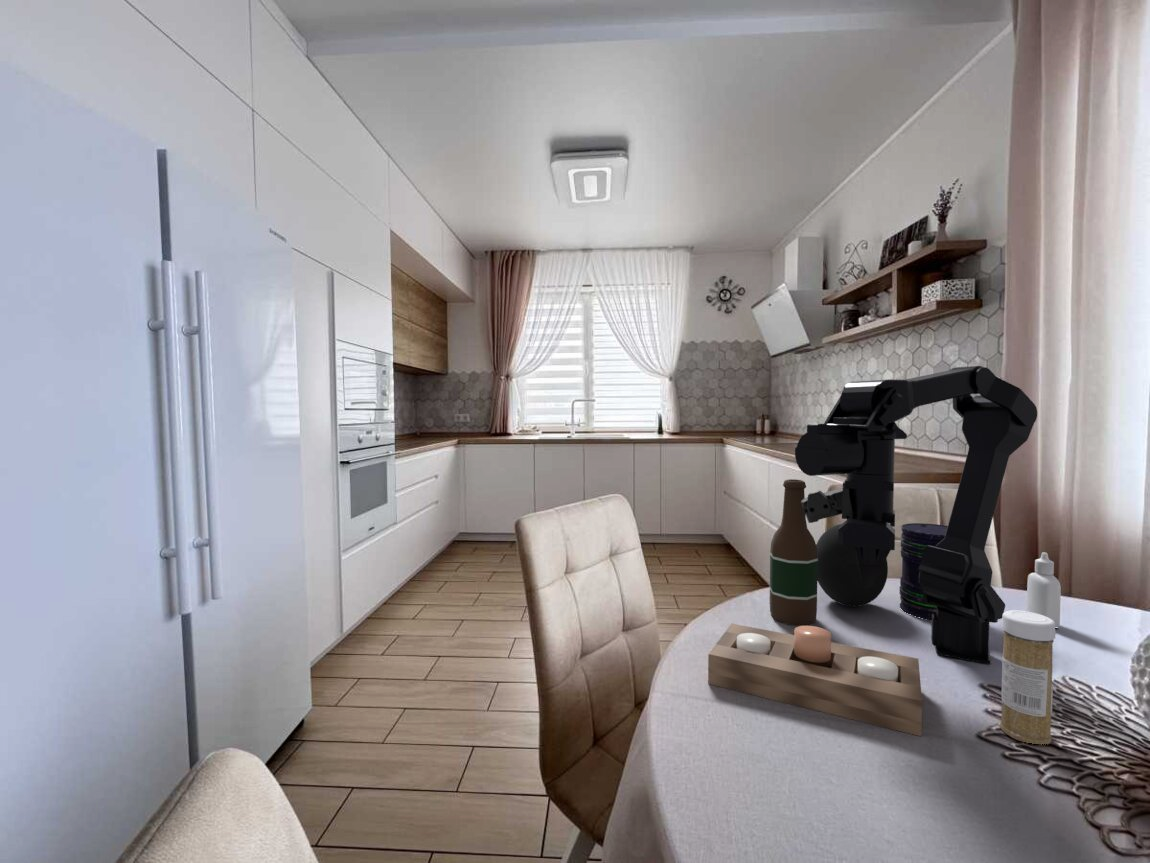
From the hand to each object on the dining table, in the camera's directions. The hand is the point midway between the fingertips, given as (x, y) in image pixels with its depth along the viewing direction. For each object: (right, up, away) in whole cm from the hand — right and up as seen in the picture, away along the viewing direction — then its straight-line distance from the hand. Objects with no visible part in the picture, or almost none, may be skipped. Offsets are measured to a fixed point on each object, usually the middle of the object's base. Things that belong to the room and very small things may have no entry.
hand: (867, 586), depth 77 cm
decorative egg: (+10, -11, +27) cm, 31 cm away
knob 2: (-3, -11, -7) cm, 13 cm away
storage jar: (+23, -11, +23) cm, 35 cm away
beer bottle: (-2, -11, +20) cm, 23 cm away
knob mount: (-9, -12, -3) cm, 16 cm away
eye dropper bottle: (+39, -11, +18) cm, 44 cm away
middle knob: (-9, -8, -4) cm, 13 cm away
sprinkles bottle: (+10, -13, -14) cm, 22 cm away
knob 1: (-16, -11, 0) cm, 19 cm away
